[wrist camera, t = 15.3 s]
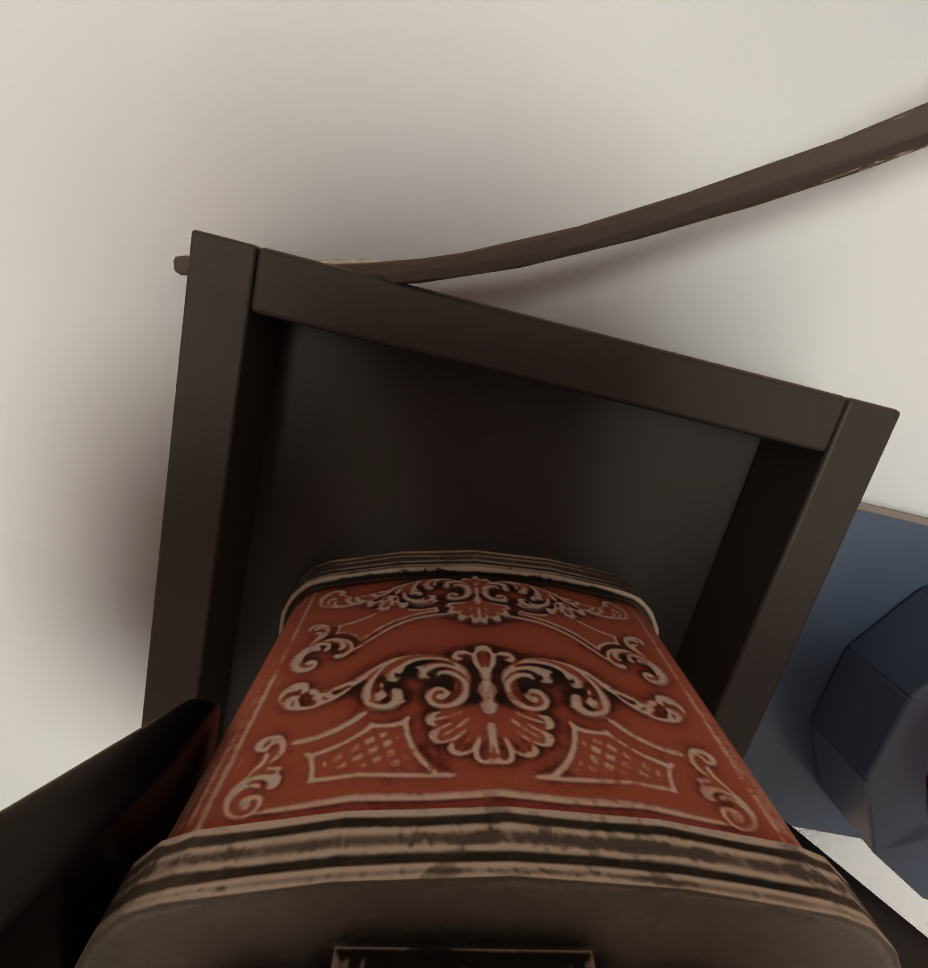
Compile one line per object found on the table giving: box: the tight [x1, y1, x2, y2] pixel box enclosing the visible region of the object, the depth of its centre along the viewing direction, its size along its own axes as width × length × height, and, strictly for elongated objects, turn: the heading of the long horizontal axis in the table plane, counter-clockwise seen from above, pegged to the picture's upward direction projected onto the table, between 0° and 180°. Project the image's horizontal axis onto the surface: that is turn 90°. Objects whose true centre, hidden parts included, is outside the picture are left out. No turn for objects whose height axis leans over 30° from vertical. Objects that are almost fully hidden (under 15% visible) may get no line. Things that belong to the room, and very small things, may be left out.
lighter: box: [74, 550, 901, 968], centre depth 8 cm, size 8×3×10 cm, turn 86°
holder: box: [142, 230, 900, 760], centre depth 12 cm, size 12×13×2 cm
